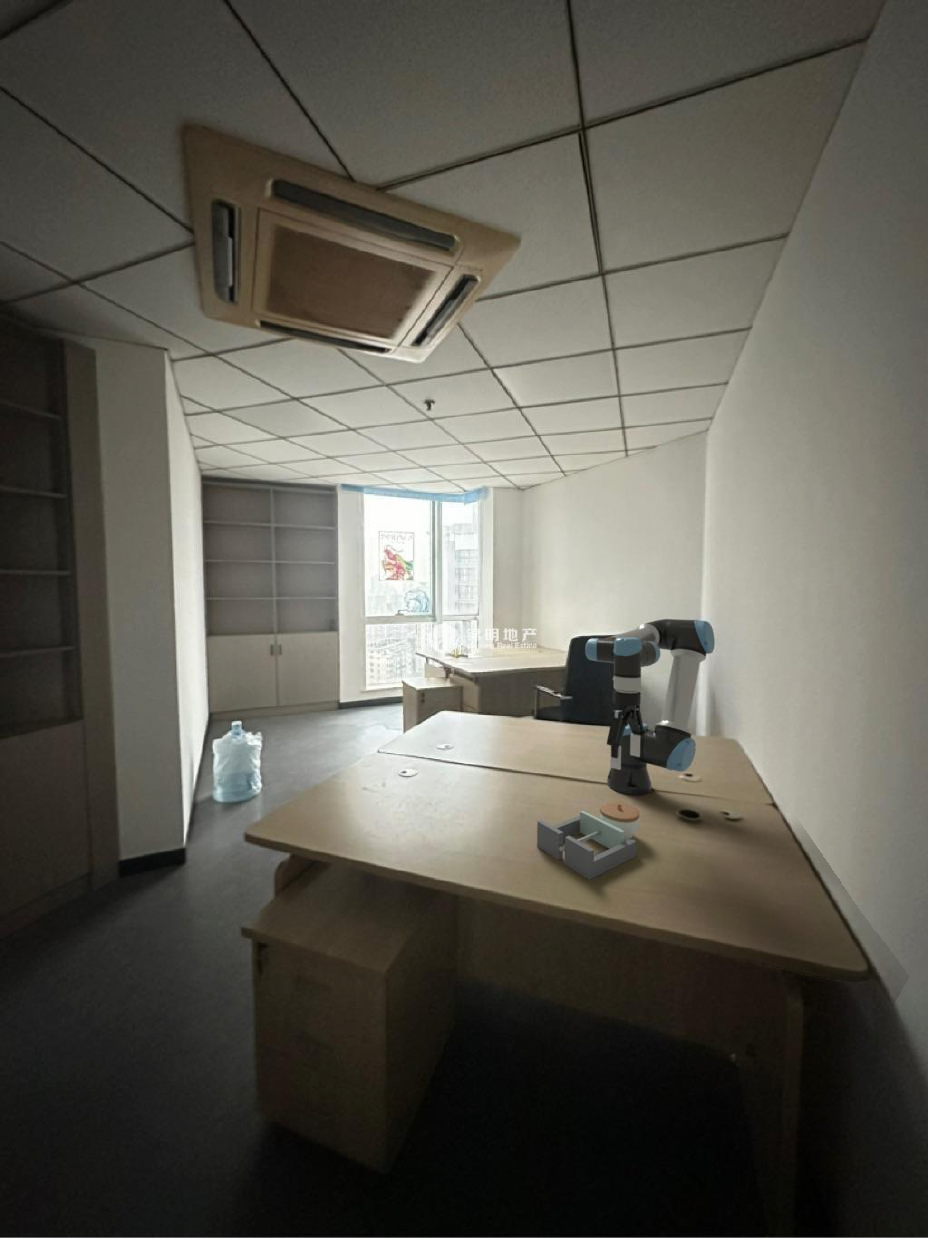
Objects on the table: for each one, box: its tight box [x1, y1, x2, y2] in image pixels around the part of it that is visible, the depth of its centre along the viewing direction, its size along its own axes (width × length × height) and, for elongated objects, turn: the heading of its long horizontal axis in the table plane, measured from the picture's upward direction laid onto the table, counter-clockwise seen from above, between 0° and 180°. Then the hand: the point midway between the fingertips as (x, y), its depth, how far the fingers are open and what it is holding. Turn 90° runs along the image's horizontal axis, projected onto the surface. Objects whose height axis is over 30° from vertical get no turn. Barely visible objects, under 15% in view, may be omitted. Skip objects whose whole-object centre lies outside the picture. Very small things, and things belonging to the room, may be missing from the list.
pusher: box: [559, 810, 624, 852], centre depth 121 cm, size 17×14×6 cm
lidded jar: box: [599, 801, 640, 842], centre depth 130 cm, size 11×11×9 cm
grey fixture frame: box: [536, 815, 637, 881], centre depth 122 cm, size 18×18×7 cm
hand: (625, 761), depth 134 cm, fingers open, 13 cm apart
